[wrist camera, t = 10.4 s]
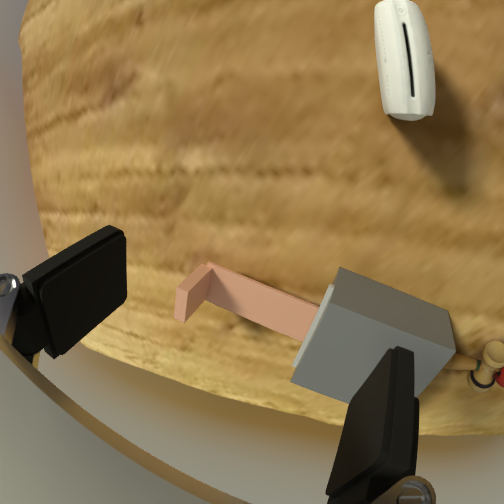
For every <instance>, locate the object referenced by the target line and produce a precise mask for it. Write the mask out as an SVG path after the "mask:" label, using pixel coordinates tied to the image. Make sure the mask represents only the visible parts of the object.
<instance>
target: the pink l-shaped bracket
mask: <svg viewBox="0 0 504 504" xmlns="http://www.w3.org/2000/svg"><path fill="white" fill-rule="evenodd" d="M204 300H207V301H209V302H211V303H213V304H215V305H218V306H220V307H222V308H224V309H226V310H229V311H231V312H233V313H235V314H238V315H240V316H242V317H245V318H247V319H249V320H251V321H254V322H256V323H258V324H261V325H263V326H265V327H268V328H270V329H273V330H275V331H277V332H280V333H282V334H284V335H287V336H289V337H292V338H294V339H297V340H299V341H302V342H303V341H304V339H305V337H306V335H307V333H308V331H309V329H310V326H311V324H312V322H313V320H314V318H315V316H316V313H317V311H318V309H319V306H317V305H314V304H312V303H309V302H307V301H304V300H302V299H299V298H297V297H294V296H292V295H289V294H287V293H284V292H282V291H280V290H277V289H275V288H272V287H270V286H267V285H265V284H262V283H260V282H258V281H255V280H253V279H250V278H248V277H246V276H243V275H241V274H238V273H236V272H234V271H231V270H229V269H226V268H224V267H222V266H219V265H217V264H215V263H212V262H210V261H209V262H208V263H207V266H206V265H204V264H201V265H200V266H199V267H198V268H197V269H195V270H194V271H193V272H192V273H191V274H190V275H189V276H188V277H187V278H186V279H185V280H184V281H183V282H182V283H180V284H179V285H178V286H177V290H176V301H175V313H174V318H175V319H177V320H179V321H181V322H183V323H185V322H186V321H187V320H188V318H189V317H190V316H191V315H192V314H193V313H194V312H195V311H196V309H197V308H198V307H199V306H200V305H201V304H202V303H203V302H204Z"/></svg>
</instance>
